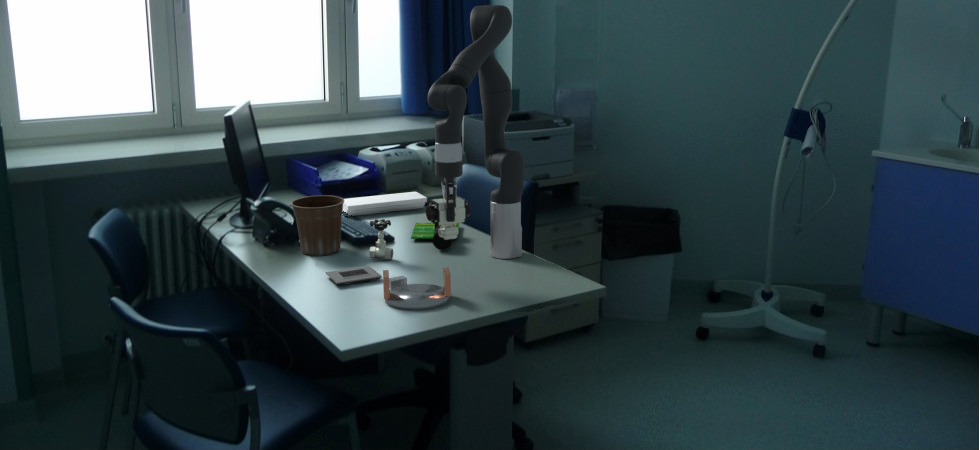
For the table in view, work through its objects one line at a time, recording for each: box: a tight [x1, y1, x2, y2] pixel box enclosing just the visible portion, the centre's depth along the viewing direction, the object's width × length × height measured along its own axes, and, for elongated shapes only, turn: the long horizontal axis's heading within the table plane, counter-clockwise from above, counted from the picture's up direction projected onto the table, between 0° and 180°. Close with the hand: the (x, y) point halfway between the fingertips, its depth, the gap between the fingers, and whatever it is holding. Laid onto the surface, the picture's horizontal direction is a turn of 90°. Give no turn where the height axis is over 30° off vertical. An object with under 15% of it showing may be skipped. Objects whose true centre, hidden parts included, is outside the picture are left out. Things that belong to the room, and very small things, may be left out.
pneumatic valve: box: [425, 196, 472, 240], centre depth 247 cm, size 6×12×12 cm, turn 116°
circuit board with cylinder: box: [410, 222, 460, 251], centre depth 293 cm, size 30×7×15 cm
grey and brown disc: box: [382, 267, 452, 312], centre depth 236 cm, size 18×17×8 cm
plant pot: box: [290, 194, 345, 257], centre depth 279 cm, size 16×16×16 cm
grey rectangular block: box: [389, 275, 408, 290], centre depth 247 cm, size 5×2×2 cm, turn 124°
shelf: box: [343, 191, 428, 217], centre depth 329 cm, size 12×30×5 cm, turn 116°
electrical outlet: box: [325, 265, 383, 286], centre depth 253 cm, size 13×10×2 cm
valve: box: [368, 218, 394, 261], centre depth 270 cm, size 7×7×12 cm
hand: (449, 218), depth 247 cm, fingers closed on pneumatic valve, 6 cm apart
